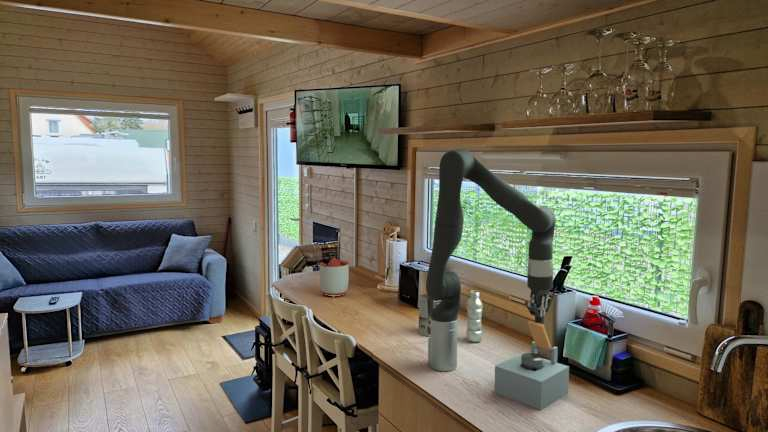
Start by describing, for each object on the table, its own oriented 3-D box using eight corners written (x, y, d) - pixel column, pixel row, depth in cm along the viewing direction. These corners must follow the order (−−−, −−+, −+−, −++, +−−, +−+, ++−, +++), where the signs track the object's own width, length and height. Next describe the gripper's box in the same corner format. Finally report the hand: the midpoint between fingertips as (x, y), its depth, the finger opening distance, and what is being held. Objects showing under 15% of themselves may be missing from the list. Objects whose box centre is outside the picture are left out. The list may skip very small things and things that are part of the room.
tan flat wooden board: (527, 323, 164) (529, 320, 165) (536, 349, 169) (539, 346, 170) (541, 327, 160) (544, 323, 161) (550, 354, 166) (553, 350, 166)
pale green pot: (336, 288, 291) (335, 252, 289) (355, 295, 278) (354, 257, 275) (311, 293, 281) (311, 256, 279) (330, 300, 268) (330, 261, 265)
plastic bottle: (470, 344, 205) (471, 294, 203) (463, 338, 212) (463, 290, 209) (485, 343, 207) (486, 293, 205) (477, 337, 213) (478, 288, 211)
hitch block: (494, 392, 164) (495, 350, 163) (522, 377, 175) (523, 337, 174) (540, 410, 153) (542, 365, 151) (568, 392, 164) (569, 350, 162)
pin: (516, 390, 164) (517, 356, 163) (527, 384, 169) (528, 351, 167) (534, 397, 160) (535, 362, 158) (545, 391, 164) (546, 356, 163)
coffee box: (429, 337, 214) (429, 298, 212) (418, 333, 219) (418, 295, 217) (444, 332, 219) (445, 294, 217) (433, 328, 224) (434, 291, 222)
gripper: (539, 279, 155) (538, 336, 157) (562, 270, 164) (561, 324, 166) (517, 274, 160) (516, 330, 162) (540, 267, 169) (539, 319, 171)
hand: (539, 327), depth 164 cm, fingers closed
